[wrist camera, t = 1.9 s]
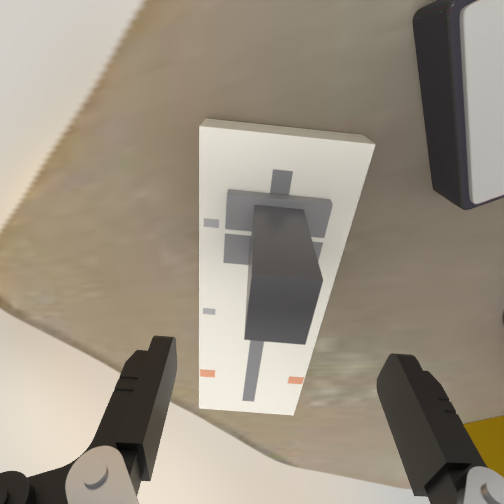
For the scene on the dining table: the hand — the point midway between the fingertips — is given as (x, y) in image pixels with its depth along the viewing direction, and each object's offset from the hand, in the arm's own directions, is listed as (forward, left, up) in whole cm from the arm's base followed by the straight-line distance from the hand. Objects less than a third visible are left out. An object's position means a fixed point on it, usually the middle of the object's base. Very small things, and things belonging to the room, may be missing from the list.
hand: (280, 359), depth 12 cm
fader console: (0, +8, -13) cm, 15 cm away
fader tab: (0, 0, -10) cm, 11 cm away
